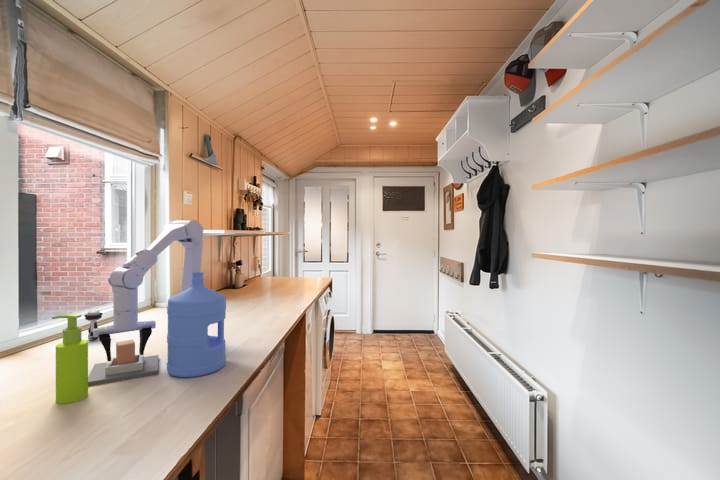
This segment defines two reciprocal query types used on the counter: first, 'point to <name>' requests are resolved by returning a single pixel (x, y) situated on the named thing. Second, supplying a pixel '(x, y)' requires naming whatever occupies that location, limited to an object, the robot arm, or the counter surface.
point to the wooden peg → (125, 352)
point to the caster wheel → (93, 322)
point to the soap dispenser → (71, 363)
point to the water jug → (195, 330)
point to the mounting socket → (123, 370)
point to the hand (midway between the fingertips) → (125, 357)
